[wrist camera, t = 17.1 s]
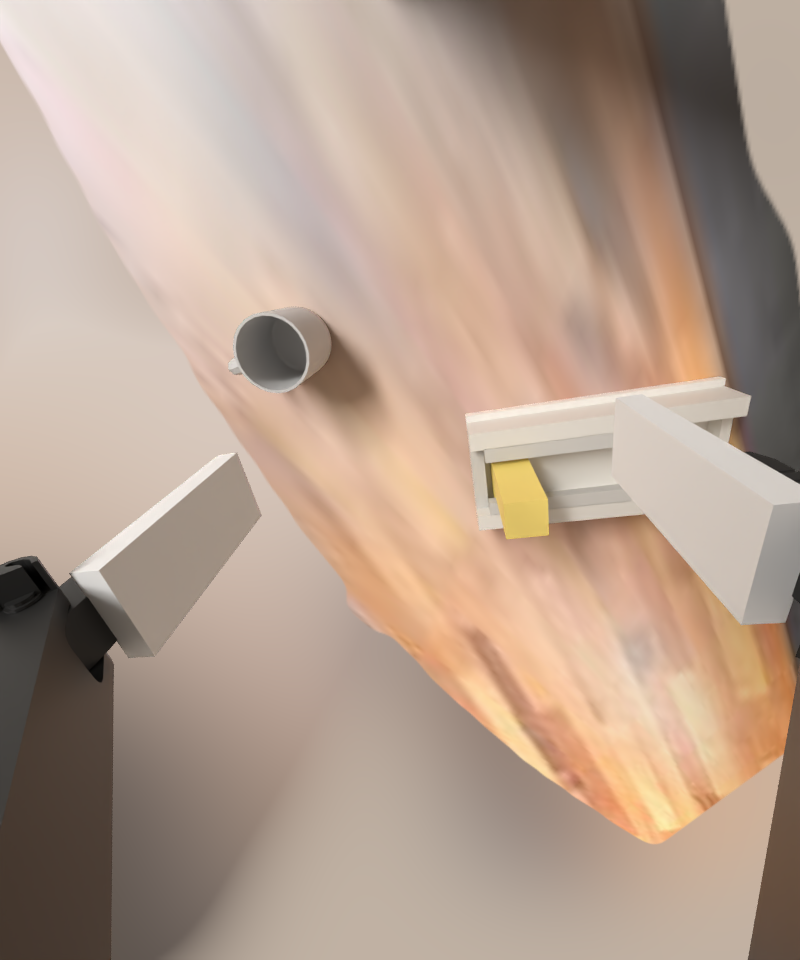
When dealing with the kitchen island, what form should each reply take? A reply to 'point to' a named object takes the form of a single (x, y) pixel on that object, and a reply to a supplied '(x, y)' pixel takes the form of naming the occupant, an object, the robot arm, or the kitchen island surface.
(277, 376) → the cup
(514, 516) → the yellow juice carton
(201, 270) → the kitchen island surface
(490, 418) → the rail
